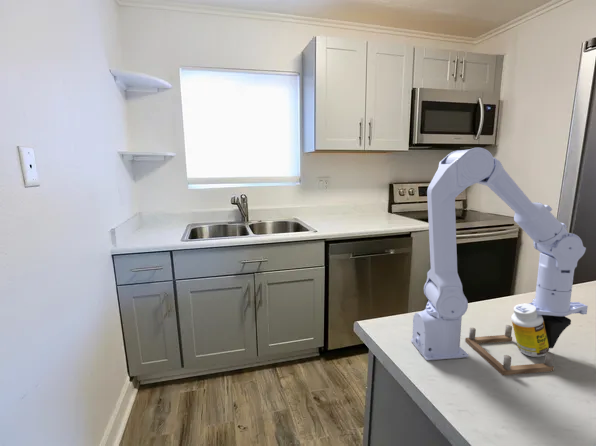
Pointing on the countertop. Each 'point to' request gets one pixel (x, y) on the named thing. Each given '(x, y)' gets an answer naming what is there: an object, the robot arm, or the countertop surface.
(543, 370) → the peg frame
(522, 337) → the supplement bottle
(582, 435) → the countertop surface
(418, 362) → the countertop surface
